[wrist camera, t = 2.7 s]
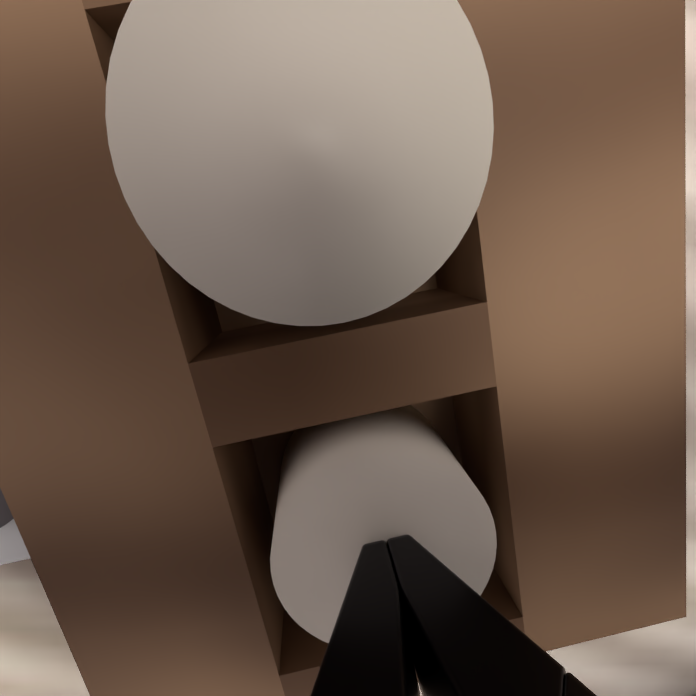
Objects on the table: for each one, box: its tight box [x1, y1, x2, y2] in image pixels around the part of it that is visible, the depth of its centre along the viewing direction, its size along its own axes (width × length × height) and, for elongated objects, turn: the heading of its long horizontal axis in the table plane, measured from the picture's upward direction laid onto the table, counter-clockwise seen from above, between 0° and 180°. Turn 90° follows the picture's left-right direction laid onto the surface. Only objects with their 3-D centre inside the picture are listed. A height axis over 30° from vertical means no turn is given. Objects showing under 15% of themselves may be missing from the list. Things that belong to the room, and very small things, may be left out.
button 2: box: [270, 405, 497, 643], centre depth 9 cm, size 4×4×3 cm
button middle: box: [105, 0, 494, 326], centre depth 6 cm, size 4×4×3 cm
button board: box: [0, 0, 686, 696], centre depth 8 cm, size 20×12×3 cm, turn 11°
